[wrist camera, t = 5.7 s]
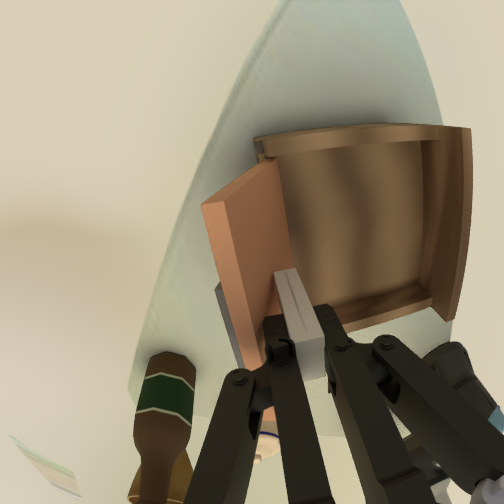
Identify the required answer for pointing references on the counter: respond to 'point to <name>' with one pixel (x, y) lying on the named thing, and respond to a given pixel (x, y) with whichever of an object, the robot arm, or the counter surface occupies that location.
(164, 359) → the beer bottle
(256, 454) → the teacup with lid
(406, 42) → the counter surface
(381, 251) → the tray
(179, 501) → the plant pot
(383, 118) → the counter surface
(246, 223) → the orange rectangular slab
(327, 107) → the counter surface
